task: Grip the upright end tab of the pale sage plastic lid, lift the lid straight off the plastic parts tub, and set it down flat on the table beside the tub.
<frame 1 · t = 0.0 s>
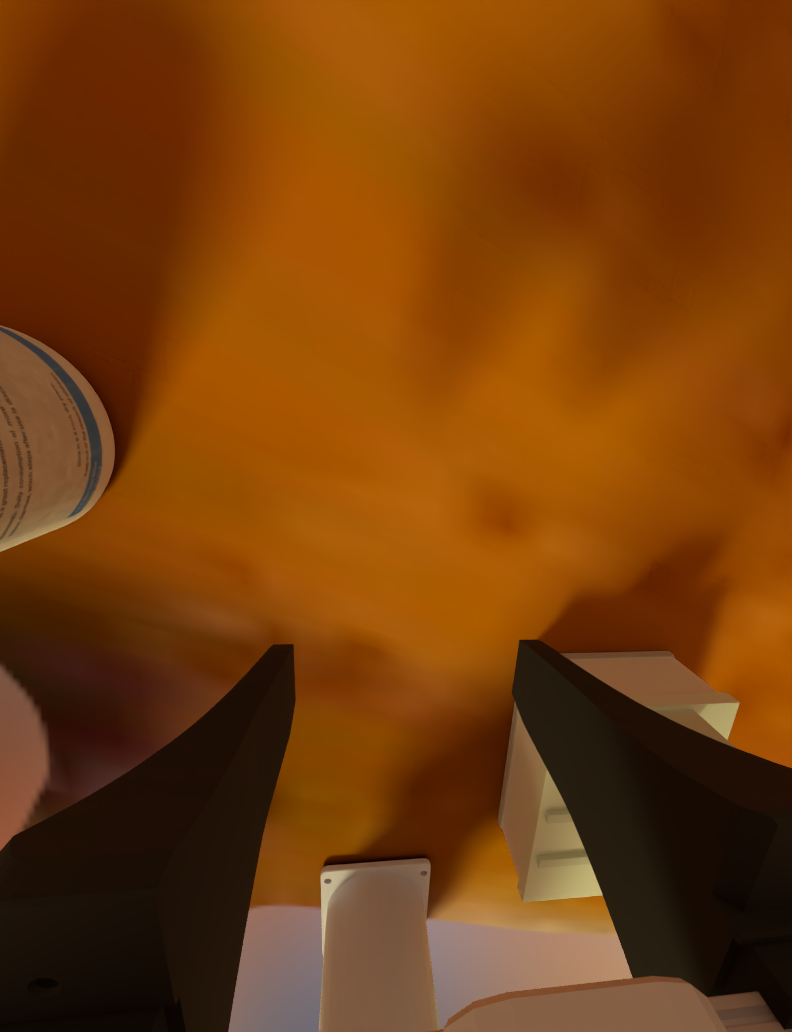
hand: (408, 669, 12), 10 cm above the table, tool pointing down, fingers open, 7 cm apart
parts tub: (578, 740, 27), on the table
lid: (615, 795, 23), point 4 cm above the table, touching parts tub
supplement tub: (21, 435, 19), on the table
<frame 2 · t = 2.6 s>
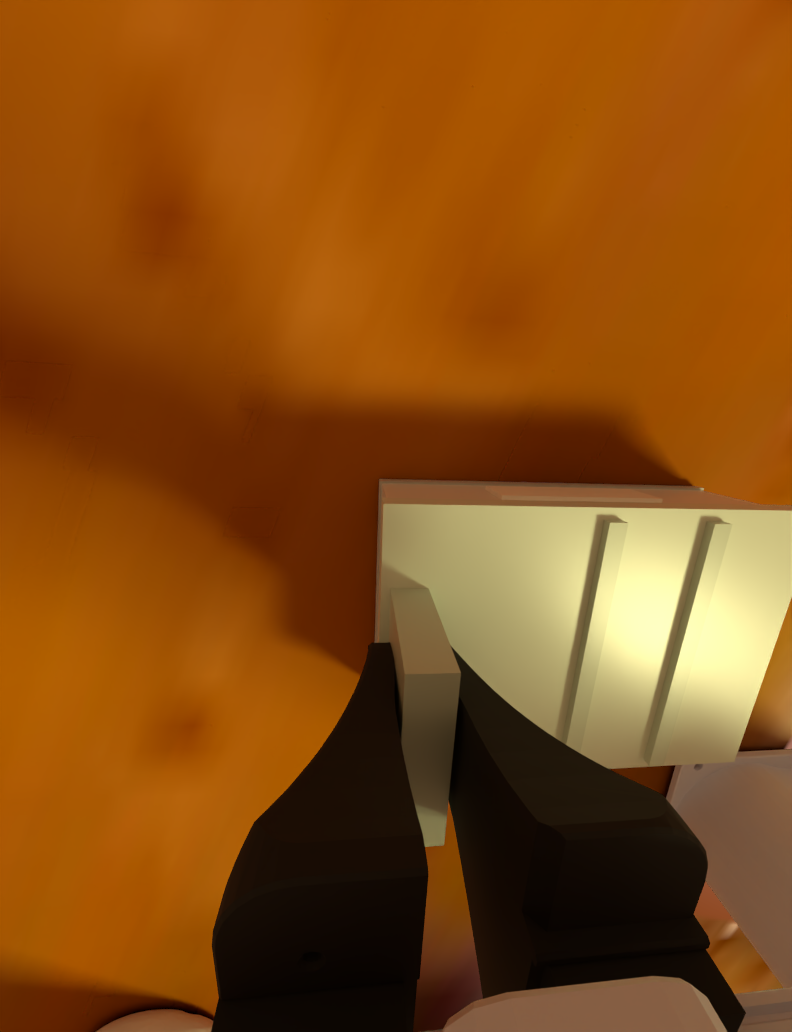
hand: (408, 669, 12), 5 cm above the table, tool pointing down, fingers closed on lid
parts tub: (527, 590, 18), on the table
lid: (574, 639, 14), point 4 cm above the table, touching gripper, parts tub
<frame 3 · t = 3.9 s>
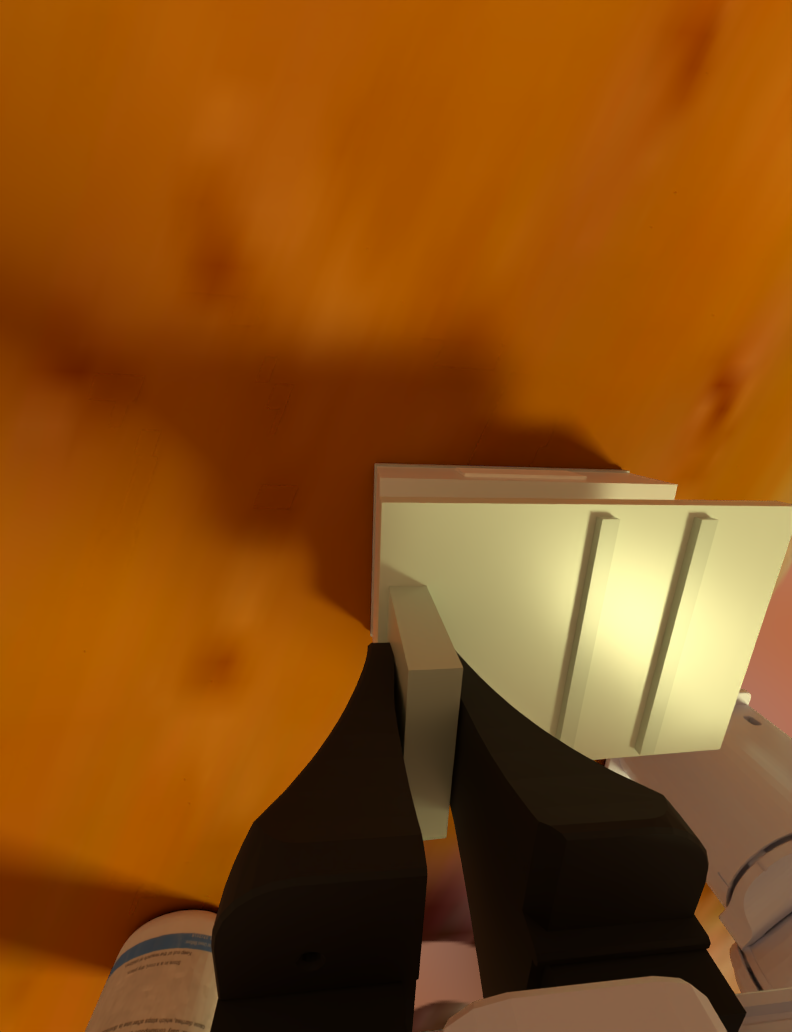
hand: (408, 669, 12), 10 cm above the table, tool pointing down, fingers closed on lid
parts tub: (493, 553, 22), on the table
lid: (567, 634, 14), point 8 cm above the table, touching gripper
supplement tub: (194, 942, 29), on the table
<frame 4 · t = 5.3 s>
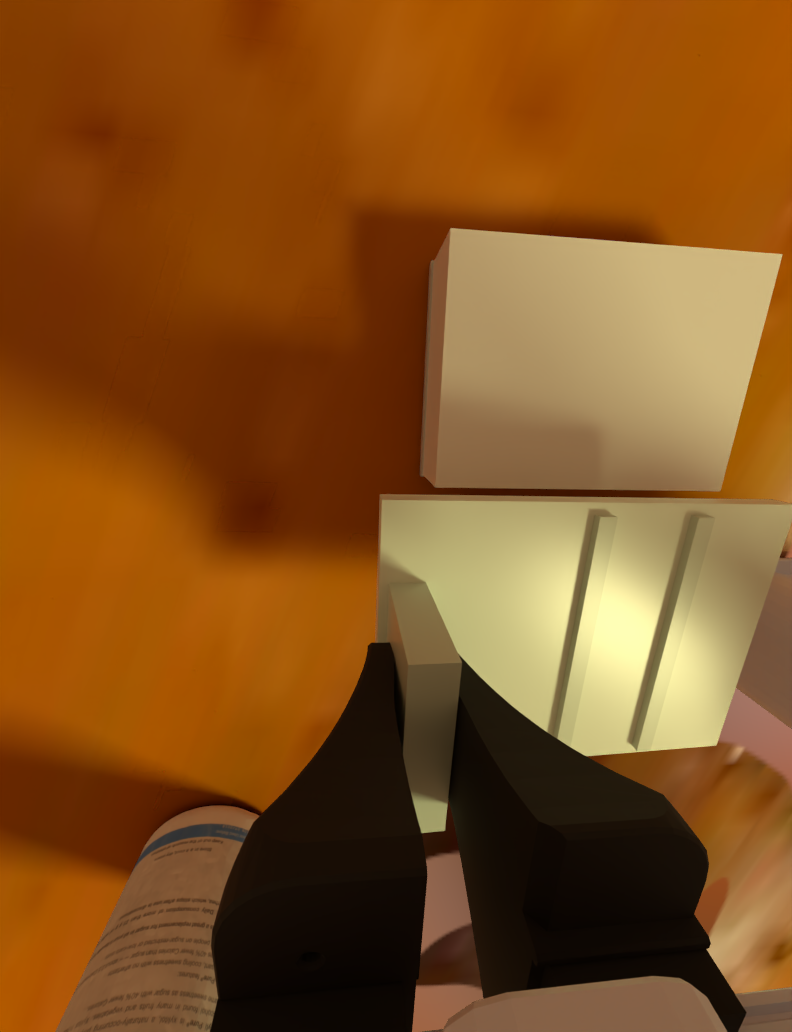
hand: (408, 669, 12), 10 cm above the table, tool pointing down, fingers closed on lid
parts tub: (555, 382, 20), on the table
lid: (565, 631, 14), point 9 cm above the table, touching gripper
supplement tub: (222, 846, 27), on the table
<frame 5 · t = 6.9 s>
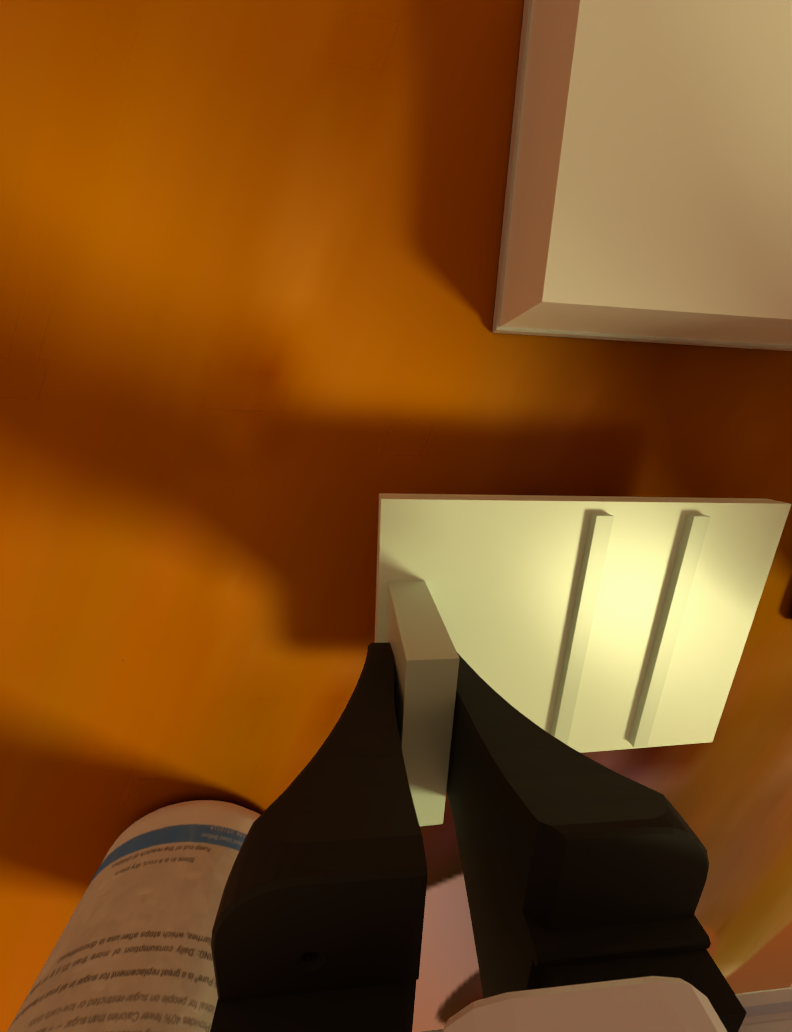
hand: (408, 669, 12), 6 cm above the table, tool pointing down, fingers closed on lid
parts tub: (692, 194, 14), on the table
lid: (562, 628, 14), point 4 cm above the table, touching gripper
supplement tub: (210, 853, 21), on the table
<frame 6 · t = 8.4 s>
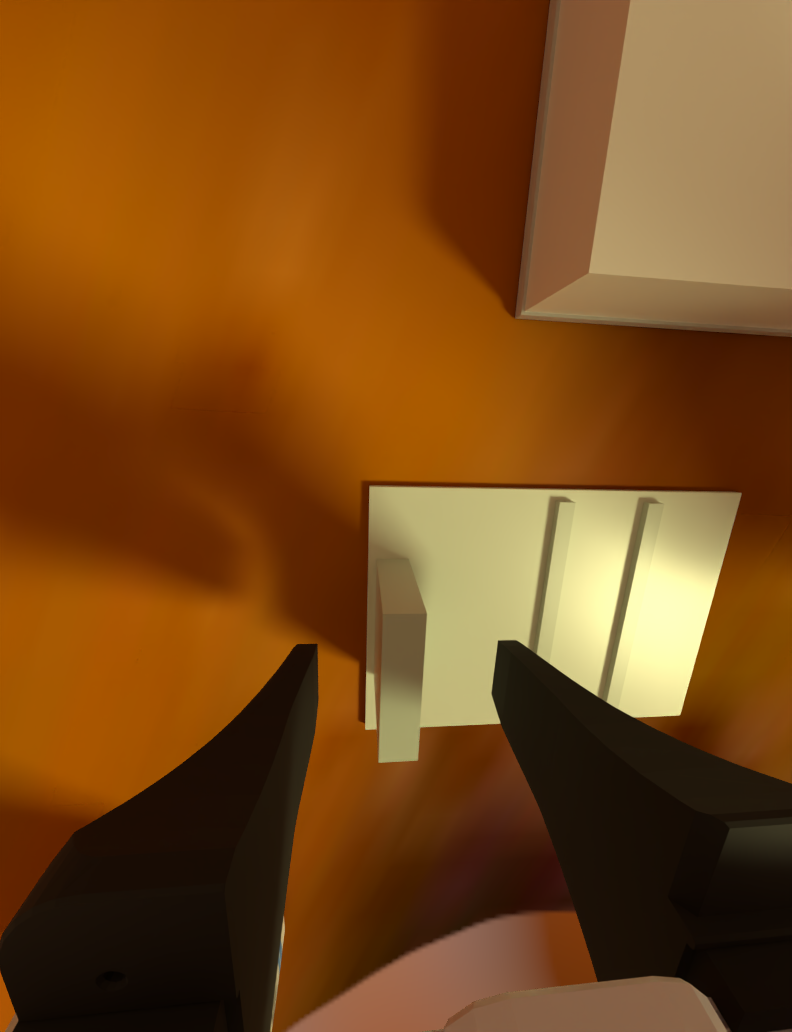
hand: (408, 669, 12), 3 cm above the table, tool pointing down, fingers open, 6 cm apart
parts tub: (755, 152, 12), on the table
lid: (536, 606, 16), on the table
supplement tub: (191, 908, 19), on the table
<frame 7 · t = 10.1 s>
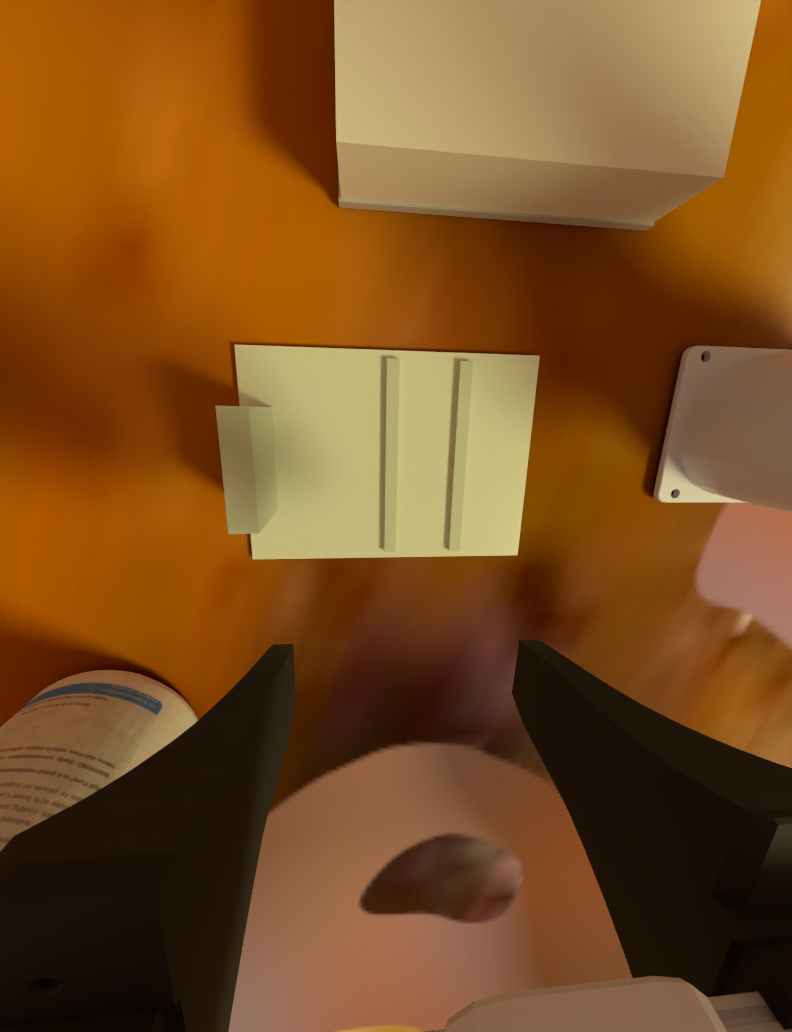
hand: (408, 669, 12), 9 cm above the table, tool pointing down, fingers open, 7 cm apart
parts tub: (510, 75, 16), on the table
lid: (389, 459, 20), on the table
supplement tub: (126, 729, 22), on the table
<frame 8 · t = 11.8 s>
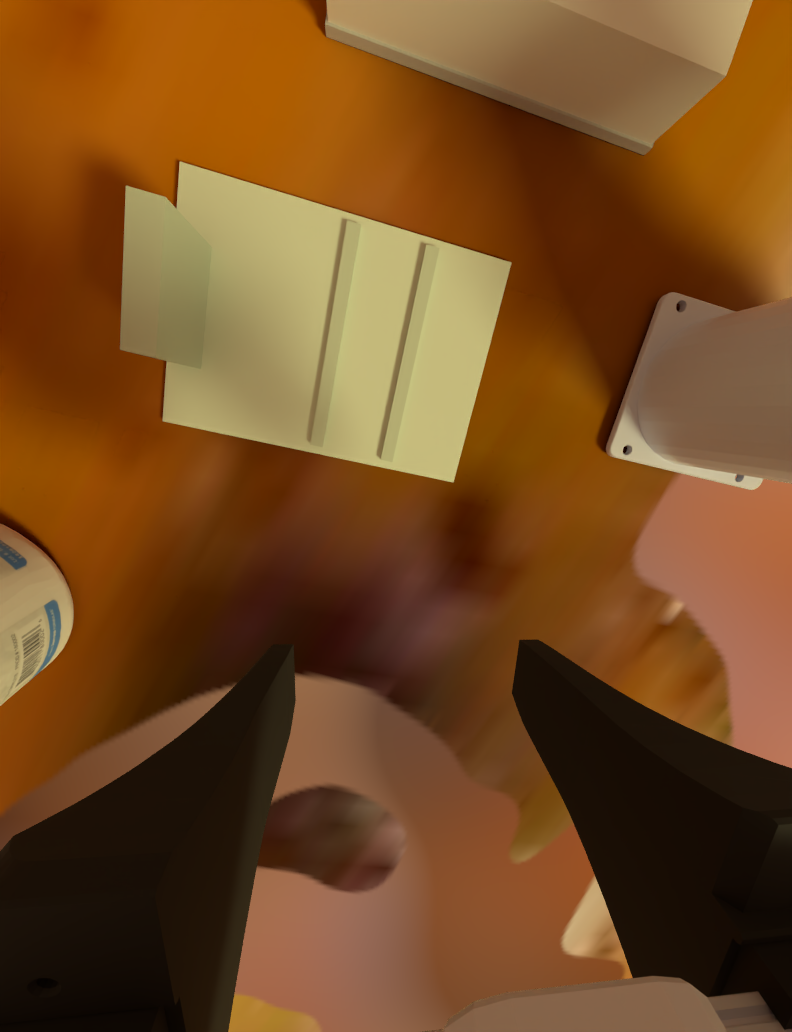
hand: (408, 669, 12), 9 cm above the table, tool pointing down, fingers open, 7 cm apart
lid: (335, 345, 18), on the table
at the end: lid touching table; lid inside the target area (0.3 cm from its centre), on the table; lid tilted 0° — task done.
